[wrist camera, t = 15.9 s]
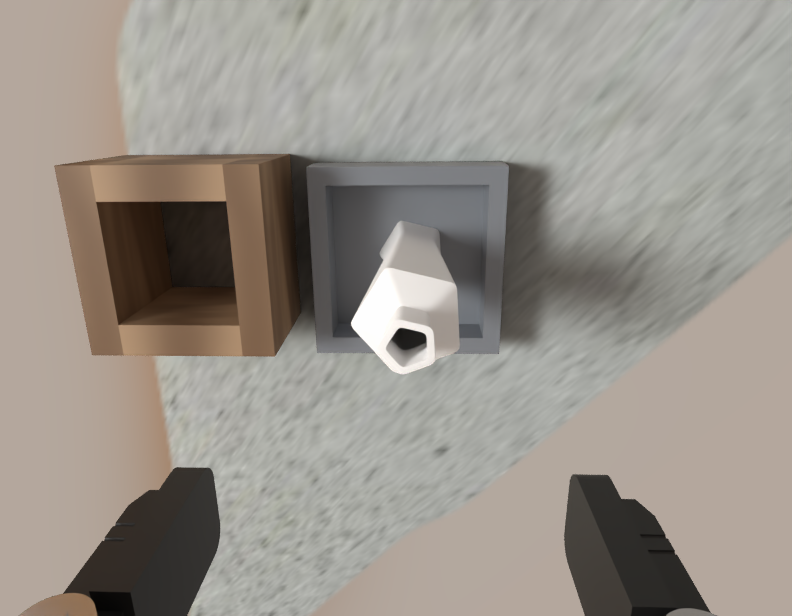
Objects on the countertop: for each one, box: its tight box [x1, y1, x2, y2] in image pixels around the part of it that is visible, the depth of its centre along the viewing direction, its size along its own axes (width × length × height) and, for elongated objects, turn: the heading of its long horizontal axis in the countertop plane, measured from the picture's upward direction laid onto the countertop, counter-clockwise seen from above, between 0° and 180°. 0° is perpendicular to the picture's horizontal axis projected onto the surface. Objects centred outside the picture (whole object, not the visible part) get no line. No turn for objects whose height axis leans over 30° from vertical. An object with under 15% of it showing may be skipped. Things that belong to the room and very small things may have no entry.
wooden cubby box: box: [54, 154, 301, 356], centre depth 32 cm, size 10×10×7 cm
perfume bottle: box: [351, 221, 460, 374], centre depth 28 cm, size 5×4×15 cm
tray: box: [306, 161, 509, 354], centre depth 34 cm, size 11×11×3 cm
